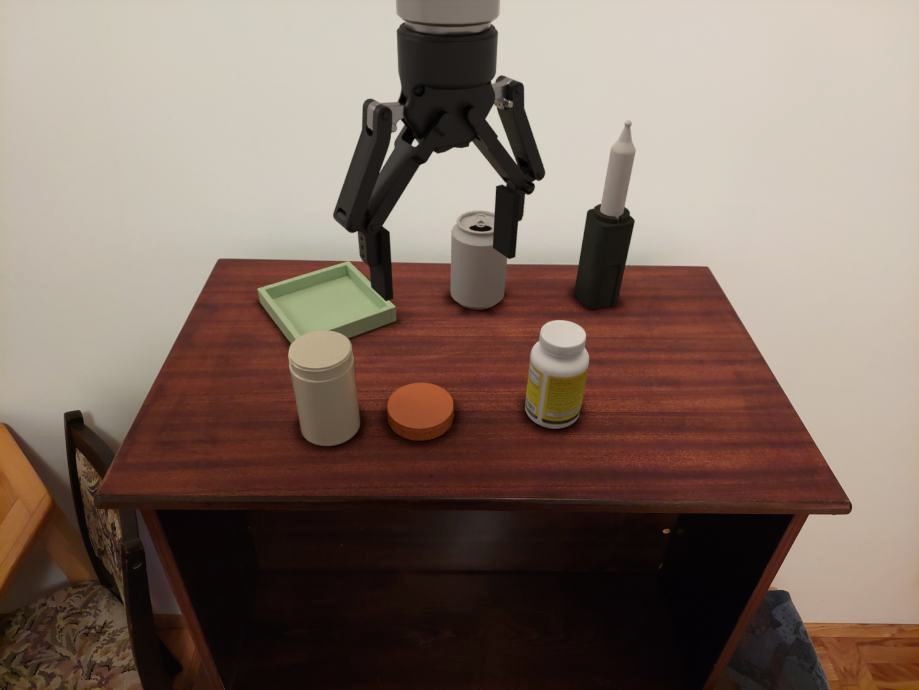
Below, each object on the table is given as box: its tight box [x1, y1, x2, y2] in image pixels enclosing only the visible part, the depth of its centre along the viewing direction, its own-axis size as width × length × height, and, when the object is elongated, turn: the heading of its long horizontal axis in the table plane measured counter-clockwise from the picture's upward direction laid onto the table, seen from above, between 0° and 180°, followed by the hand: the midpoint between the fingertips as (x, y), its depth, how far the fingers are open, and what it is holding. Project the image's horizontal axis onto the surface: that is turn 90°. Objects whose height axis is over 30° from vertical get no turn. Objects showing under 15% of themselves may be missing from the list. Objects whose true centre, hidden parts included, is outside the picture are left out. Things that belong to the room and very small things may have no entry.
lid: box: [386, 382, 455, 442], centre depth 71 cm, size 7×7×2 cm
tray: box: [257, 260, 397, 345], centre depth 86 cm, size 14×14×2 cm
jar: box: [287, 330, 361, 447], centre depth 67 cm, size 6×6×11 cm
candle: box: [573, 119, 637, 311], centre depth 83 cm, size 5×5×25 cm
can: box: [449, 209, 508, 311], centre depth 86 cm, size 8×8×12 cm
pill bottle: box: [524, 319, 590, 430], centre depth 69 cm, size 6×6×11 cm
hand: (446, 272), depth 60 cm, fingers open, 13 cm apart
